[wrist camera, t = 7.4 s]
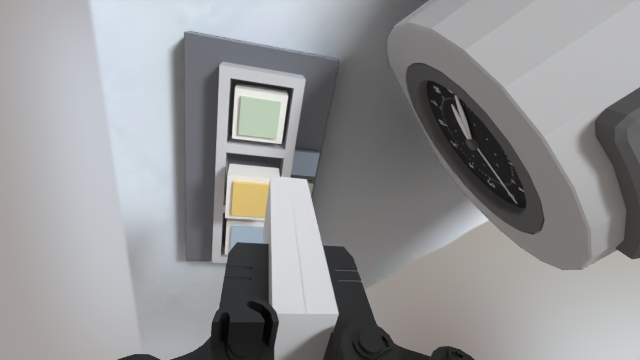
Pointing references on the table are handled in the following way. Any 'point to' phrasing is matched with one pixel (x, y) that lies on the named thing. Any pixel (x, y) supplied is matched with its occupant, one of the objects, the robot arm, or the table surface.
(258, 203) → the key ochre
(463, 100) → the alarm clock
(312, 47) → the table surface
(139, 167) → the table surface
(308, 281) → the robot arm
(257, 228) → the key blue
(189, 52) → the keypad
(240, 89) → the key sage
